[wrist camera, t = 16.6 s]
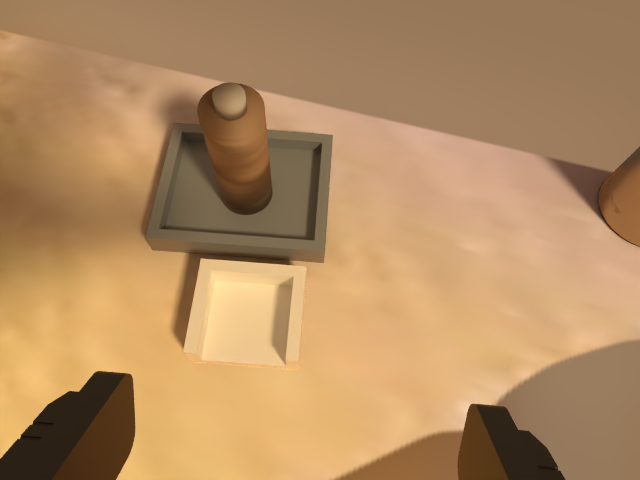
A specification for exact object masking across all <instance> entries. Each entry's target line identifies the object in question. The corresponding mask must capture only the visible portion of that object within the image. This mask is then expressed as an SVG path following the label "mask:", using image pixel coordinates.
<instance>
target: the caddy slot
mask: <svg viewBox="0 0 640 480" xmlns="http://www.w3.org/2000/svg"><path fill="white" fill-rule="evenodd" d="M305 287H306V266H294V265H281V264H267V263H254V262H241V261H227V260H214V259H201V261H200V266H199V271H198V277H197V282H196V287H195V292H194V297H193V303H192V308H191V313H190V318H189V324H188V329H187V334H186V339H185V344H184V350H183V353H184V354H185V355H186V356H187V357H188V358H189V359H190V360H191V361H192V362H200V363H213V364H227V365H240V366H254V367H267V368H281V369H294V370H299V358H300V346H301V334H302V322H303V310H304V299H305Z"/></svg>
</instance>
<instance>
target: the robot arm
mask: <svg viewBox="0 0 640 480" xmlns="http://www.w3.org/2000/svg"><path fill="white" fill-rule="evenodd" d="M598 199H599V207H600V210H601V212H602V215H603V216H604V218H605V220H606V222H607V223H608V224H609V225H610V227H611V228H612V229H613V230H614V231H615V232H616V233H618V234H619V235H620V236H621V237H622V238H624V239H626V240H627V241H629V242H630V243H633V244H635V245H637V246H640V147H639V148H638V149H637V150H636V151H635V152H634V153H633V154H632V155H631V156H630V157H629V158H627V160H625V161H624V163H622V164H621V165H620V166H619V167H618V168H617V169H616V170H615V171H614V172H613V173H612V174H611V175H610V176H609V177H608V178H607V179H606V180H605V182H604V183H603V184H602V186H601V188H600V190H599V196H598ZM134 437H135V410H134V389H133V378H132V376H131V374H127V373H115V372H103V371H97V372H95V373H94V374H93V375H92V377H91V378H90V379H89V380H88V381H87V383H86V384H85V385H84V386H83V388H82V389H81V390H80V391H79V392H74V391H69V392H67V393H66V394H64V395H62V396H61V397H59V398H58V399H56V400H55V401H53V402H51V403H50V404H48V405H47V406H46V407H45V409H44V410H43V411H42V412H41V413H40V414H39V415H38V417H37V418H36V419H35V420H34V421H33V424H32V425H30V426H29V427H28V428H27V429H26V430H25V431H24V433H23V434H22V435H21V438H20V439H17V441H16V442H15V443H14V444H13V445H12V446H11V447H10V449H9V450H8V451H7V452H6V453H5V454H4V455H3V457H2V458H1V459H0V480H116V479H117V477H118V475H119V473H120V471H121V469H122V467H123V466H124V464H125V462H126V460H127V458H128V456H129V454H130V452H131V449H132V446H133V442H134ZM458 477H459V480H565V478H564V477H563V475H562V473H561V471H558V466H557V464H556V463H555V461H554V459H553V458H552V456H551V454H550V452H549V451H548V449H547V448H546V447H545V446H544V445H543V444H542V443H541V442H540V441H539V440H538V439H537V438H536V437H534V436H533V435H532V434H531V433H530V432H529V431H523V430H518V429H517V427H516V425H515V423H514V421H513V419H512V417H511V416H510V414H509V412H508V410H507V409H506V407H504V406H494V405H482V404H471V405H470V407H469V409H468V413H467V417H466V422H465V427H464V432H463V436H462V441H461V446H460V451H459V456H458Z"/></svg>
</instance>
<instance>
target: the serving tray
mask: <svg viewBox="0 0 640 480" xmlns="http://www.w3.org/2000/svg"><path fill="white" fill-rule="evenodd" d="M332 138H333V135H326V134H313V133H300V132H287V131H274V130H267V139H268V149H269V160H270V170H271V180H272V191H273V194H272V198H271V201H270V203H269V204H268V206H267V207H266V208H264V209H263V210H262V211H260V212H258V213H255V214H252V215H240V214H236V213H234V212H232V211H230V210H229V209H228V208H227V207H226V206H225V205H224V203H223V202H222V199H221V195H220V192H219V188H218V184H217V181H216V177H215V174H214V170H213V166H212V163H211V159H210V156H209V152H208V149H207V145H206V141H205V138H204V134H203V131H202V127H201V125H195V124H182V123H174V126H173V130H172V134H171V138H170V142H169V146H168V150H167V154H166V158H165V162H164V165H163V169H162V173H161V177H160V181H159V185H158V189H157V193H156V197H155V201H154V205H153V209H152V213H151V217H150V221H149V225H148V229H147V233H146V237H145V239H146V240H147V242H148V243H149V245H150V246H151V248H152V250H160V251H173V252H186V253H200V254H213V255H226V256H240V257H253V258H266V259H280V260H293V261H306V262H319V263H324V255H325V242H326V227H327V212H328V197H329V183H330V168H331V153H332Z"/></svg>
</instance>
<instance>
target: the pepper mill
mask: <svg viewBox="0 0 640 480" xmlns="http://www.w3.org/2000/svg"><path fill="white" fill-rule="evenodd" d="M198 116H199V120H200V123H201V127H202V131H203V134H204V138H205V141H206V145H207V149H208V152H209V156H210V159H211V163H212V166H213V170H214V174H215V177H216V181H217V184H218V188H219V192H220V195H221V199H222V202H223V203H224V205H225V206H226V207H227V208H228V209H229V210H230V211H232V212H234V213H236V214H240V215H252V214H255V213H258V212H260V211H262V210H263V209H264V208H266V207H267V206H268V204H269V203H270V201H271V198H272V194H273V191H272V180H271V170H270V160H269V149H268V139H267V128H266V118H265V107H264V102H263V99H262V97H261V96H260V94H259V93H258V92H257V91H255V90H254V89H253V88H251V87H249V86H246V85H243V84H237V83H223V84H221V85H219V86H216V87H214V88H212V89H210V90H209V91H208V92H206V93H205V94H204V95H203V97H202V98H201V100H200V102H199V104H198Z"/></svg>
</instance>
